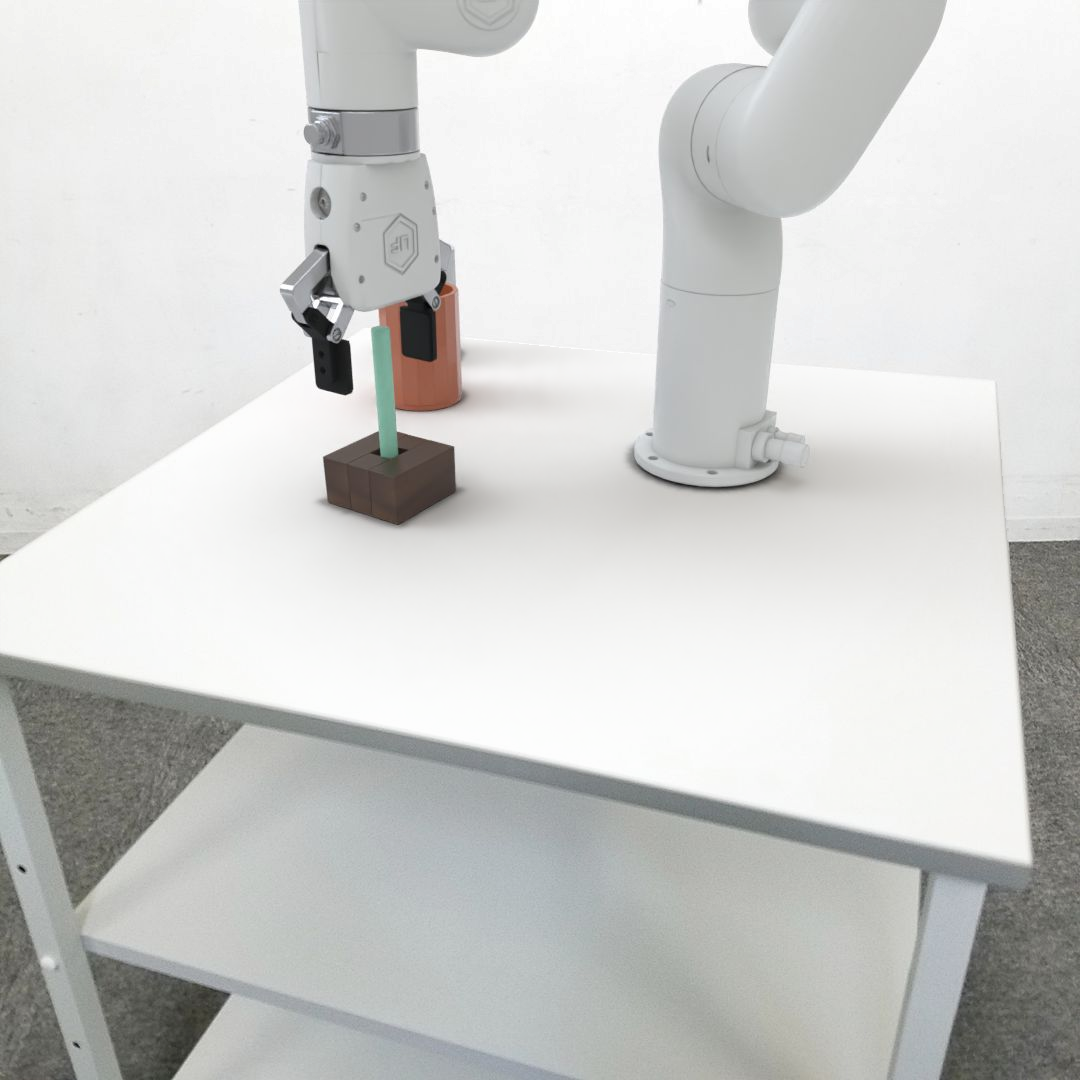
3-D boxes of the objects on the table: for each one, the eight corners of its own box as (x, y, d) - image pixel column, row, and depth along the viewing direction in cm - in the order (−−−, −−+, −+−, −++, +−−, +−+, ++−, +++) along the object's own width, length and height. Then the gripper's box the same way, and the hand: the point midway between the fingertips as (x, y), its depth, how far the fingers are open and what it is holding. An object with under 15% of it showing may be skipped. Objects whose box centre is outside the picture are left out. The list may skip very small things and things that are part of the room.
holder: (456, 491, 85) (454, 446, 83) (397, 524, 80) (394, 477, 78) (387, 471, 89) (384, 427, 87) (327, 502, 83) (322, 456, 81)
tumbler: (477, 393, 106) (473, 286, 101) (429, 416, 101) (423, 304, 95) (417, 380, 110) (412, 276, 105) (368, 401, 104) (360, 292, 99)
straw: (404, 495, 84) (393, 327, 78) (393, 501, 83) (381, 331, 77) (391, 491, 85) (379, 324, 79) (380, 497, 84) (366, 328, 78)
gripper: (315, 152, 63) (336, 416, 71) (482, 129, 76) (484, 355, 84) (230, 142, 67) (259, 395, 75) (403, 123, 80) (413, 340, 88)
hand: (378, 374), depth 79 cm, fingers open, 9 cm apart
